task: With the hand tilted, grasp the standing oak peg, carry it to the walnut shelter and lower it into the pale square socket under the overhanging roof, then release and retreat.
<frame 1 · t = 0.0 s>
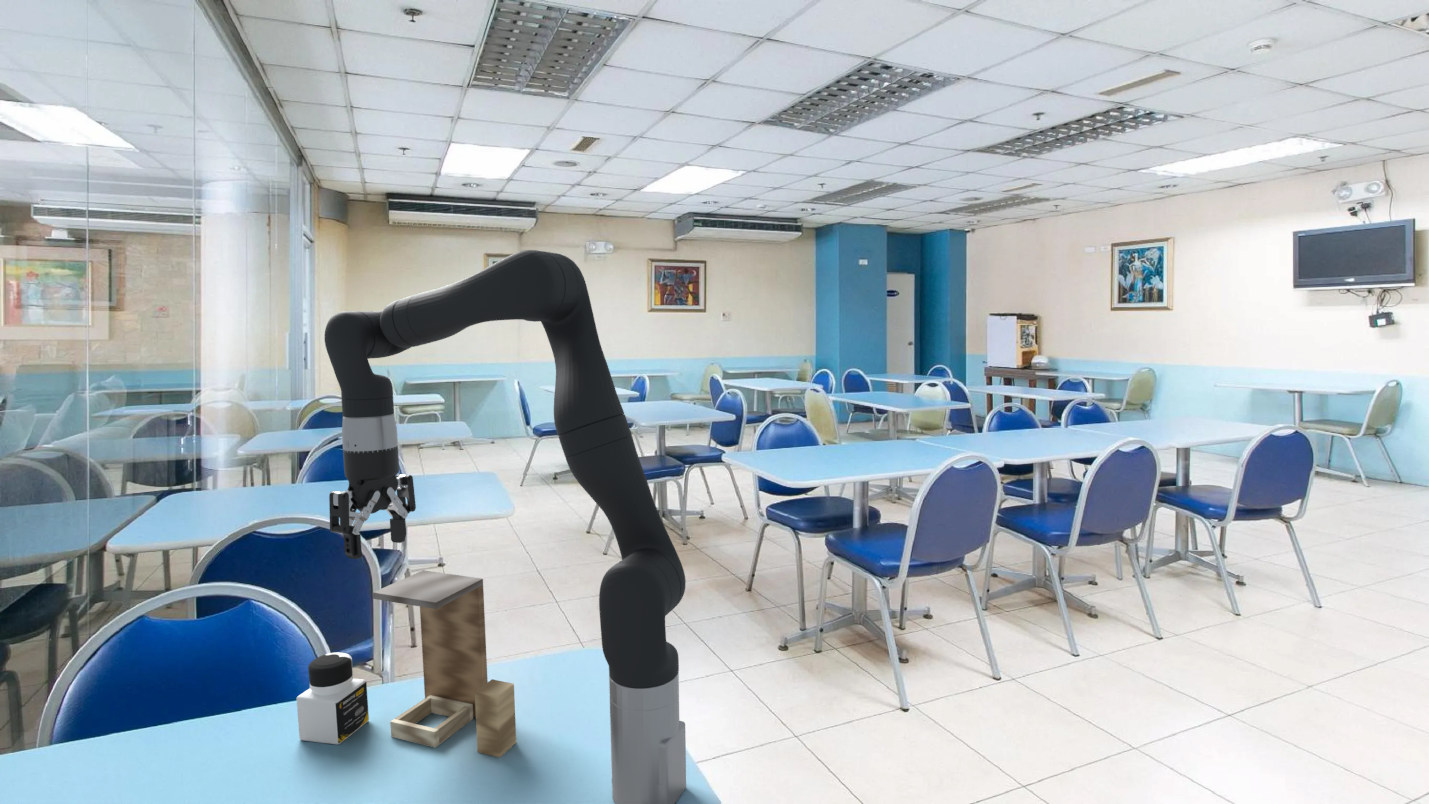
hand: (377, 549, 113), 29 cm above the table, tool pointing down, fingers open, 8 cm apart
medicine bottle: (335, 731, 116), on the table
awning socket: (433, 727, 117), on the table
peg: (497, 747, 111), on the table
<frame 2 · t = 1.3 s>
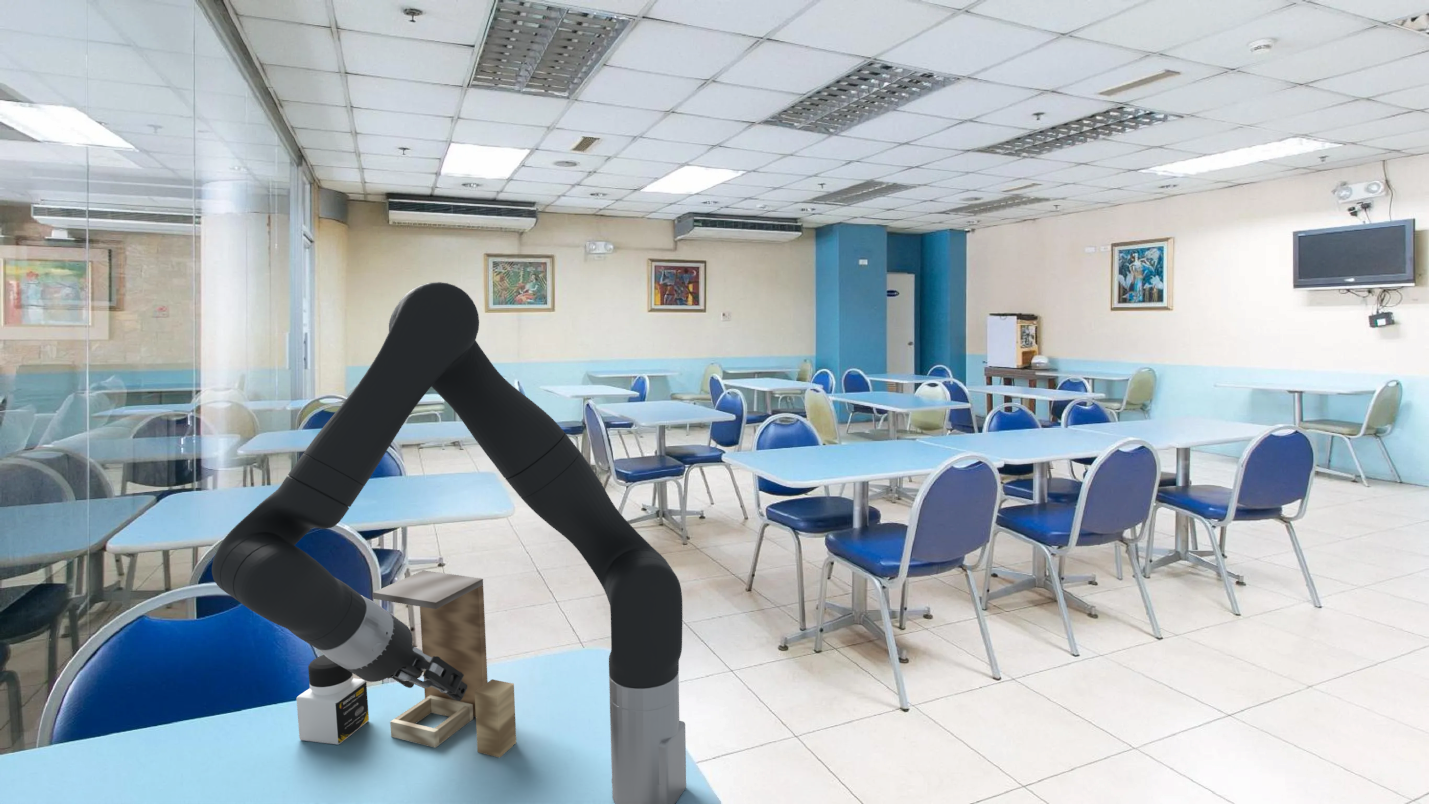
hand: (437, 686, 100), 15 cm above the table, tool tilted 45°, fingers open, 8 cm apart
nothing on the table moved.
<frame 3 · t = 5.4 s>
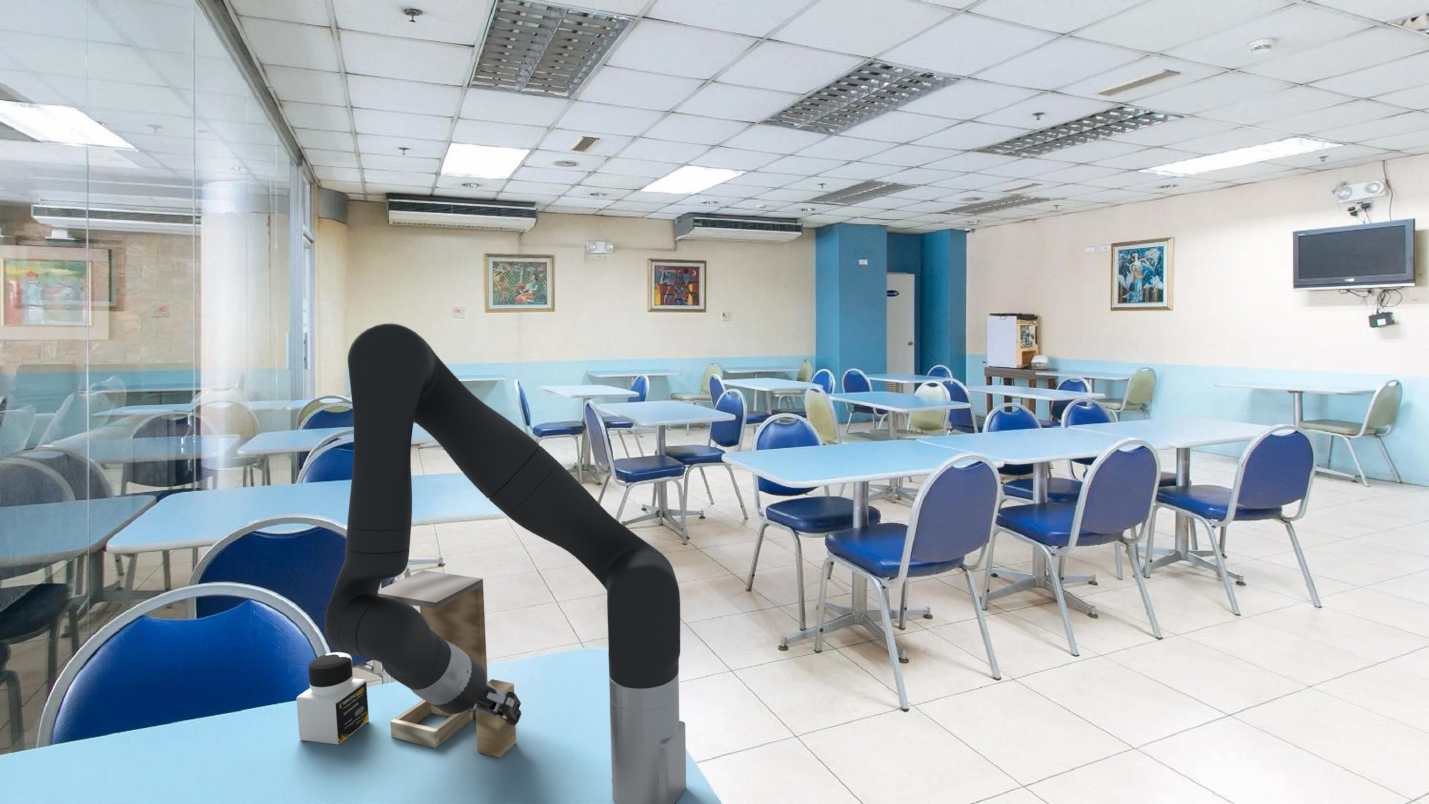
hand: (503, 715, 113), 4 cm above the table, tool tilted 45°, fingers closed on peg, 4 cm apart
peg: (497, 747, 111), on the table, touching gripper
everything else where it was.
when the fingers open (5 cm above the table, at t = 12.4 s): peg drops 1 cm, resting in awning socket.
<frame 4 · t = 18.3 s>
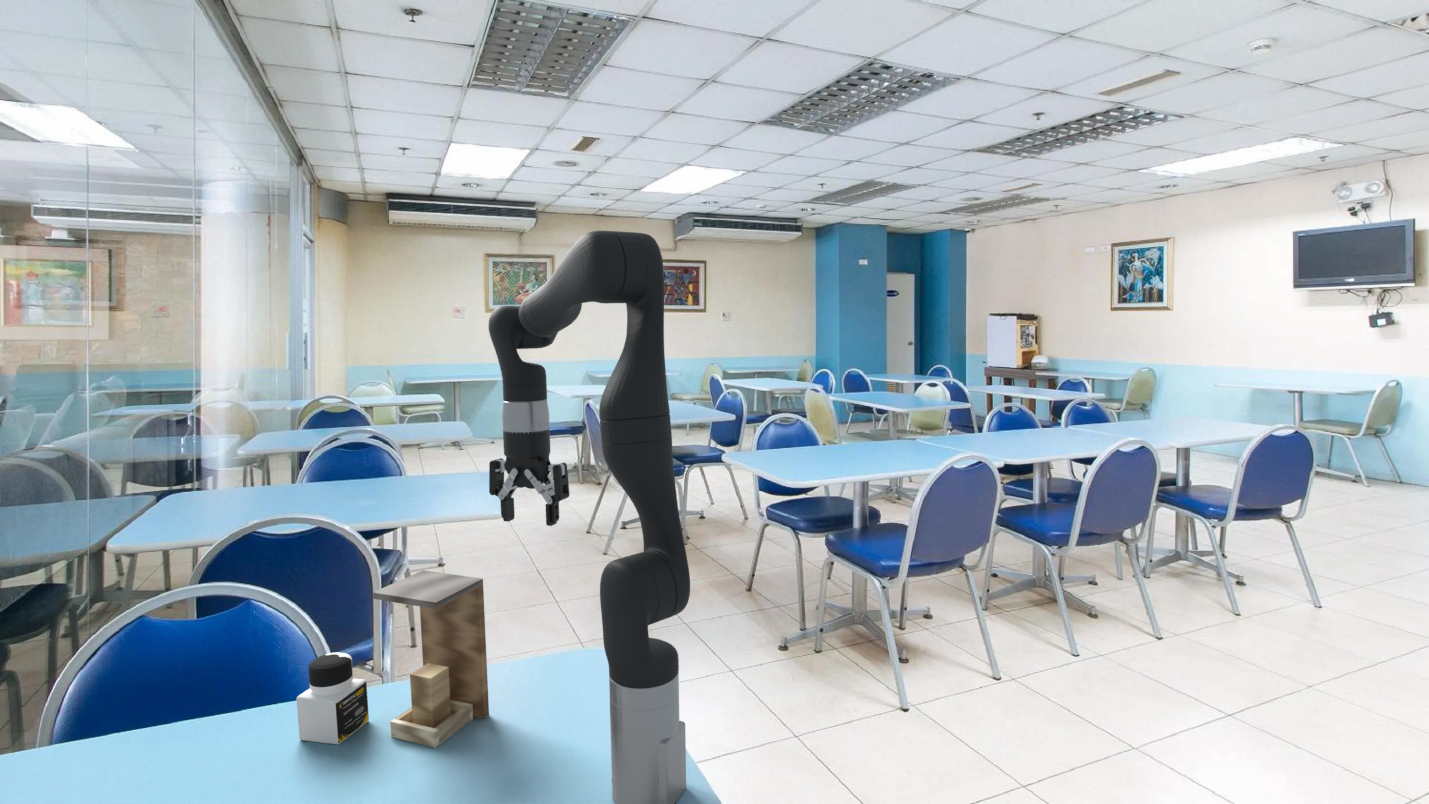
hand: (530, 522, 124), 30 cm above the table, tool pointing down, fingers open, 8 cm apart
peg: (432, 727, 117), resting in awning socket
everything else where it was.
at the end: peg 0.1 cm off-centre on the awning socket, point 0.0 cm above the awning socket's base; peg tilted 0° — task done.
